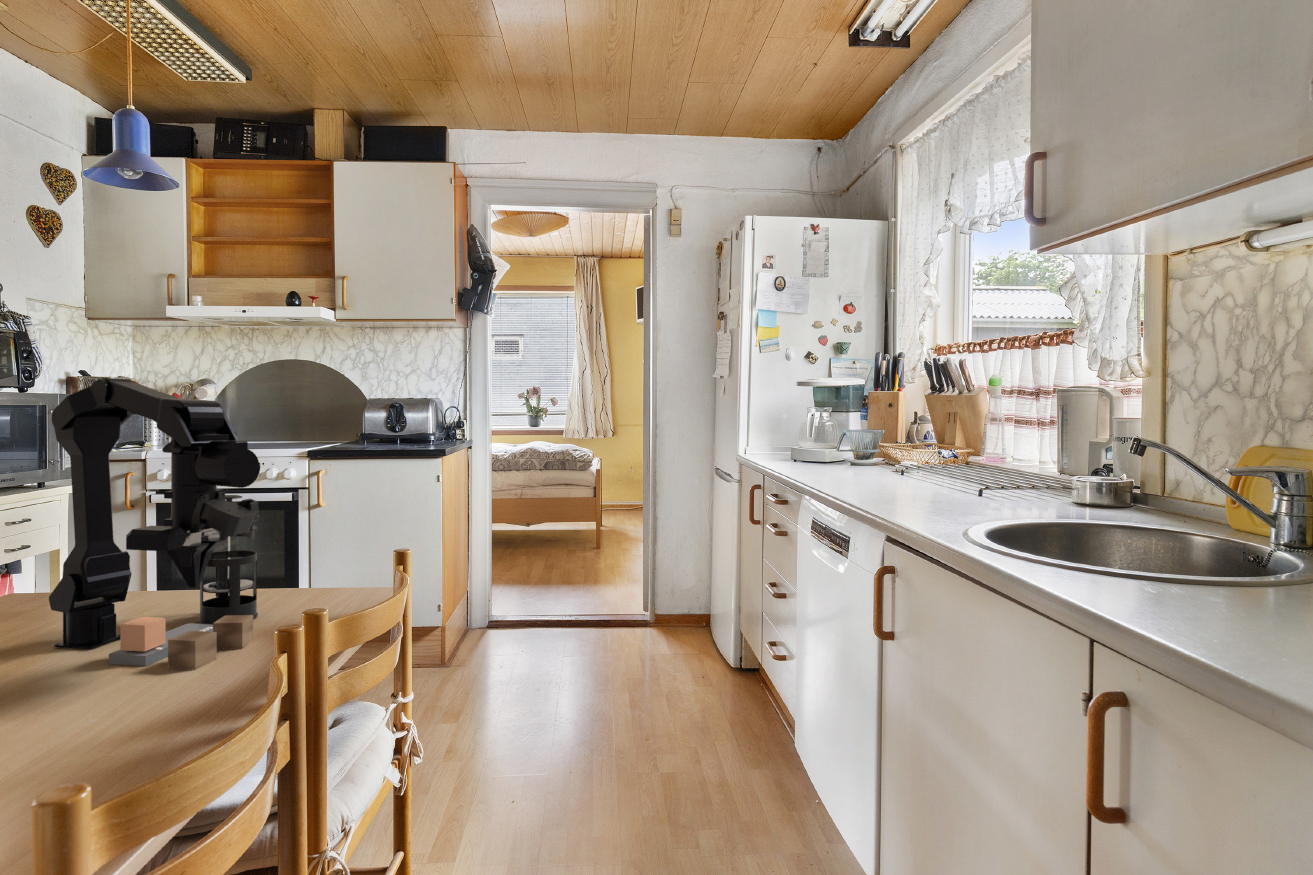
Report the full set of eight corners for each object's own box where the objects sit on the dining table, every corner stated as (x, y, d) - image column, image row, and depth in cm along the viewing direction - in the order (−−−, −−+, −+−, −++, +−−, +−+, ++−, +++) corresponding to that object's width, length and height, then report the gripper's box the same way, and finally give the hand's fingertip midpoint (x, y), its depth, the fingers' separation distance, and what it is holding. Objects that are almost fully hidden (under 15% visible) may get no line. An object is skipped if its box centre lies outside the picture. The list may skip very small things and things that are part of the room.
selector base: (108, 663, 107) (108, 652, 107) (188, 631, 123) (188, 621, 123) (145, 665, 107) (145, 654, 106) (220, 633, 122) (220, 623, 122)
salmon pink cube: (120, 650, 108) (120, 624, 108) (141, 641, 112) (141, 616, 112) (144, 651, 108) (144, 625, 107) (165, 643, 112) (165, 617, 111)
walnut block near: (168, 668, 106) (168, 639, 106) (190, 658, 110) (190, 630, 110) (195, 670, 106) (195, 640, 105) (216, 660, 110) (216, 632, 110)
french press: (265, 620, 130) (265, 496, 130) (205, 630, 124) (205, 499, 123) (248, 607, 139) (248, 490, 138) (191, 615, 132) (192, 493, 132)
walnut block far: (212, 650, 114) (212, 623, 114) (224, 641, 119) (224, 615, 119) (242, 649, 115) (242, 622, 115) (253, 640, 119) (253, 614, 119)
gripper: (198, 492, 96) (198, 606, 96) (283, 480, 115) (283, 575, 115) (122, 489, 97) (122, 602, 98) (219, 477, 116) (218, 572, 116)
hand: (194, 587), depth 107 cm, fingers closed
